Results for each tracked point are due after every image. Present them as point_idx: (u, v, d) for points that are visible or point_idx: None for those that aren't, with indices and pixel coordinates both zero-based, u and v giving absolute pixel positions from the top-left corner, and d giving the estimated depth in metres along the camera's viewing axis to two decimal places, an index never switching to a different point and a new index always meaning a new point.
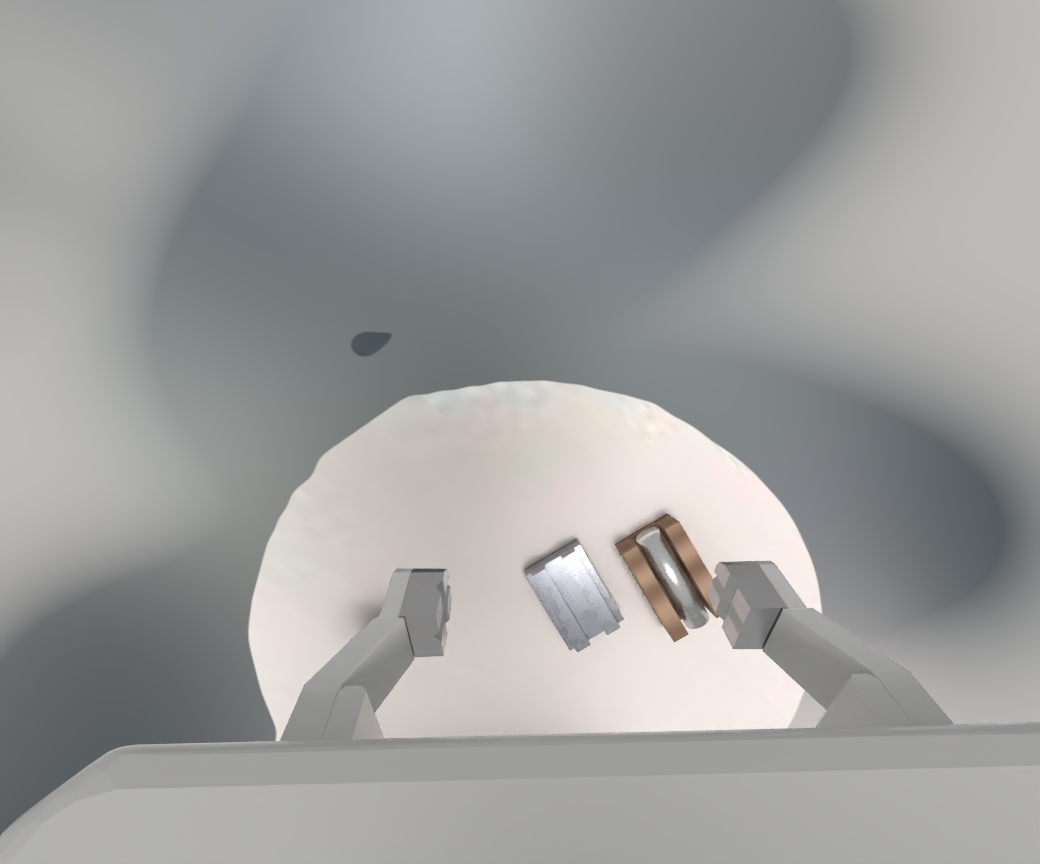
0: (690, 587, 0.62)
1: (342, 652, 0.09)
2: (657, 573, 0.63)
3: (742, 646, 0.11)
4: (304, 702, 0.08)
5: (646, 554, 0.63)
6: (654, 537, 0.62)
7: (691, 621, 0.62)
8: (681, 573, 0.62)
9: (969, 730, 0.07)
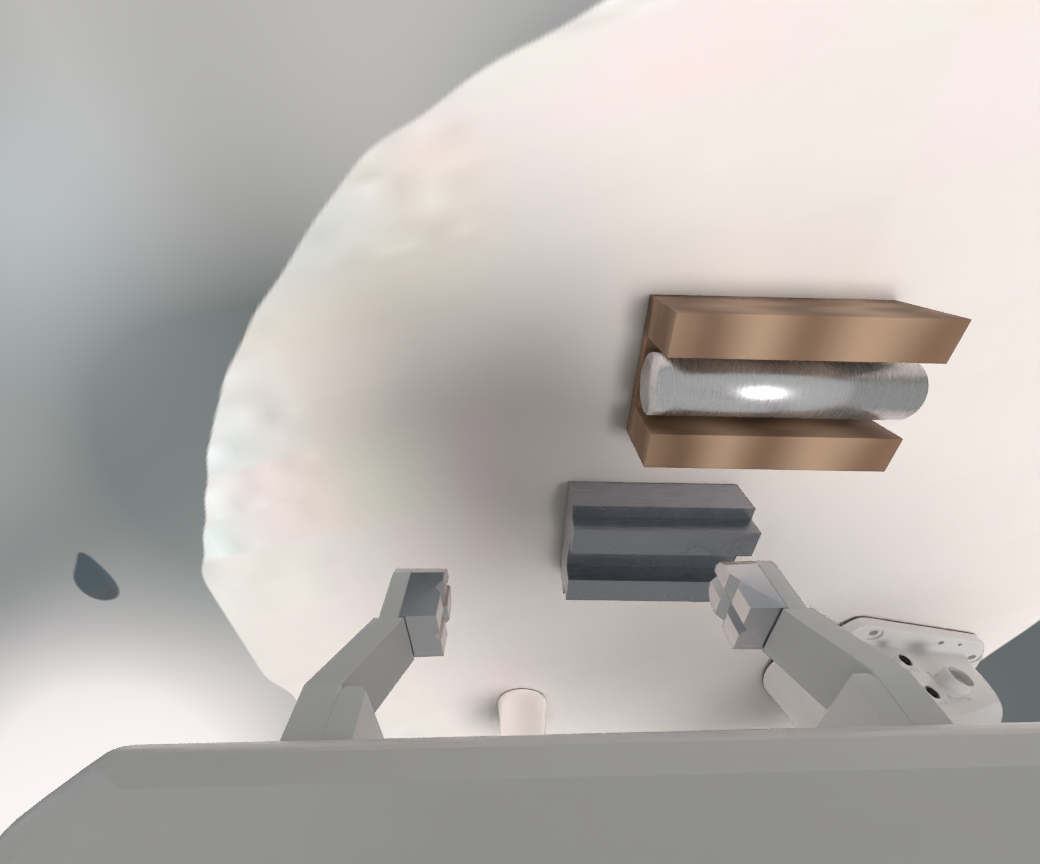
0: (830, 372, 0.24)
1: (342, 652, 0.09)
2: None
3: (742, 646, 0.11)
4: (304, 702, 0.08)
5: (685, 415, 0.26)
6: (664, 388, 0.24)
7: (889, 415, 0.25)
8: (785, 377, 0.24)
9: (969, 730, 0.07)
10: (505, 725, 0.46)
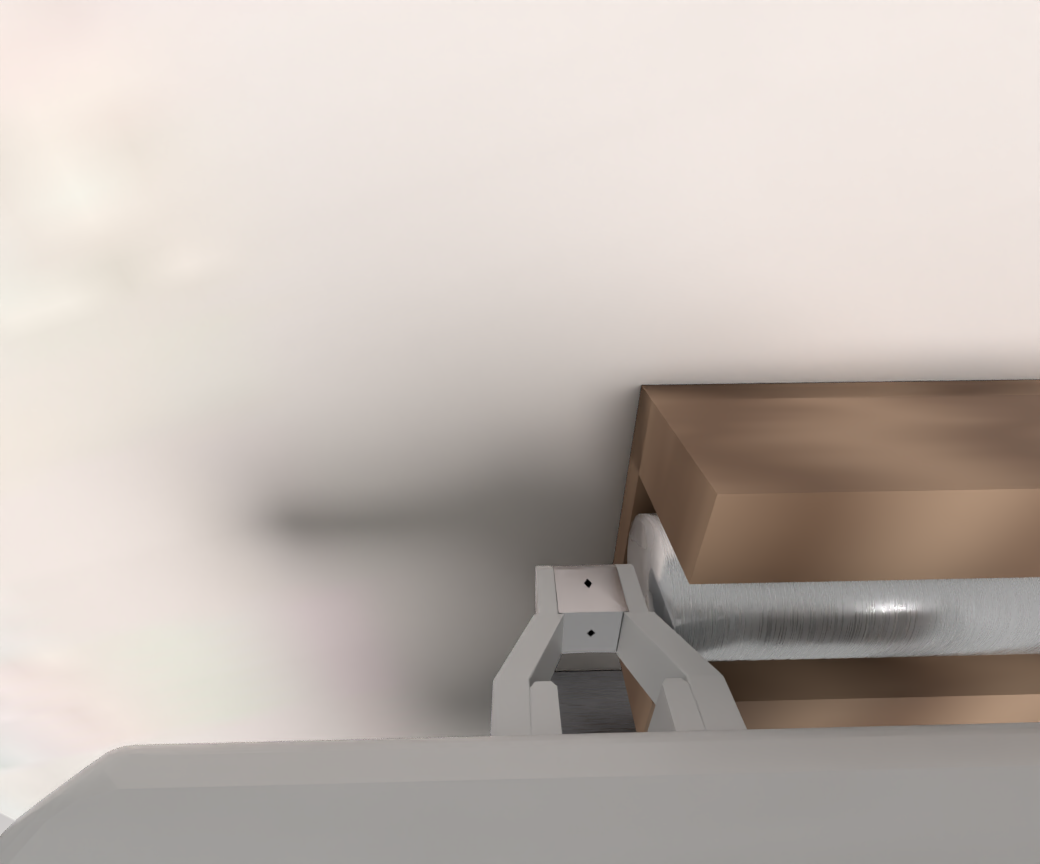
0: None
1: (514, 647, 0.09)
2: None
3: (595, 649, 0.11)
4: (499, 697, 0.08)
5: None
6: (682, 634, 0.10)
7: None
8: (975, 596, 0.10)
9: (969, 730, 0.07)
10: None
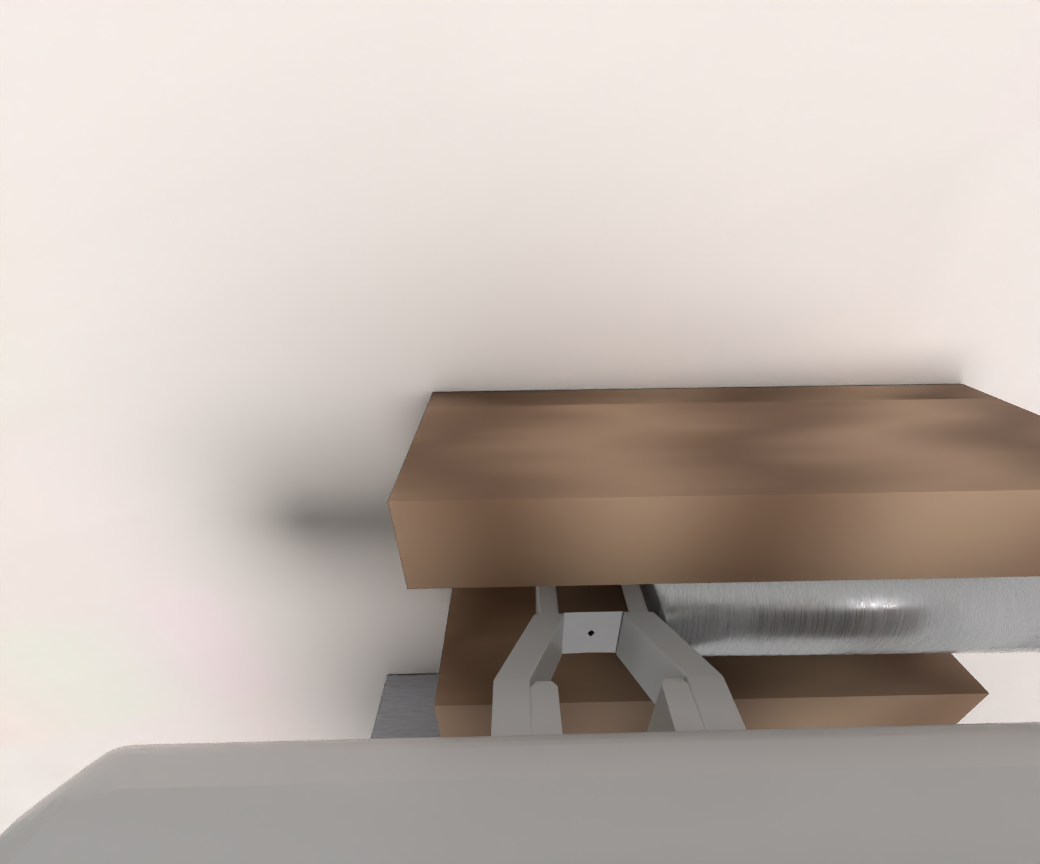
0: None
1: (515, 647, 0.09)
2: None
3: (595, 649, 0.11)
4: (500, 697, 0.08)
5: None
6: (675, 628, 0.10)
7: None
8: (963, 593, 0.10)
9: (969, 730, 0.07)
10: None
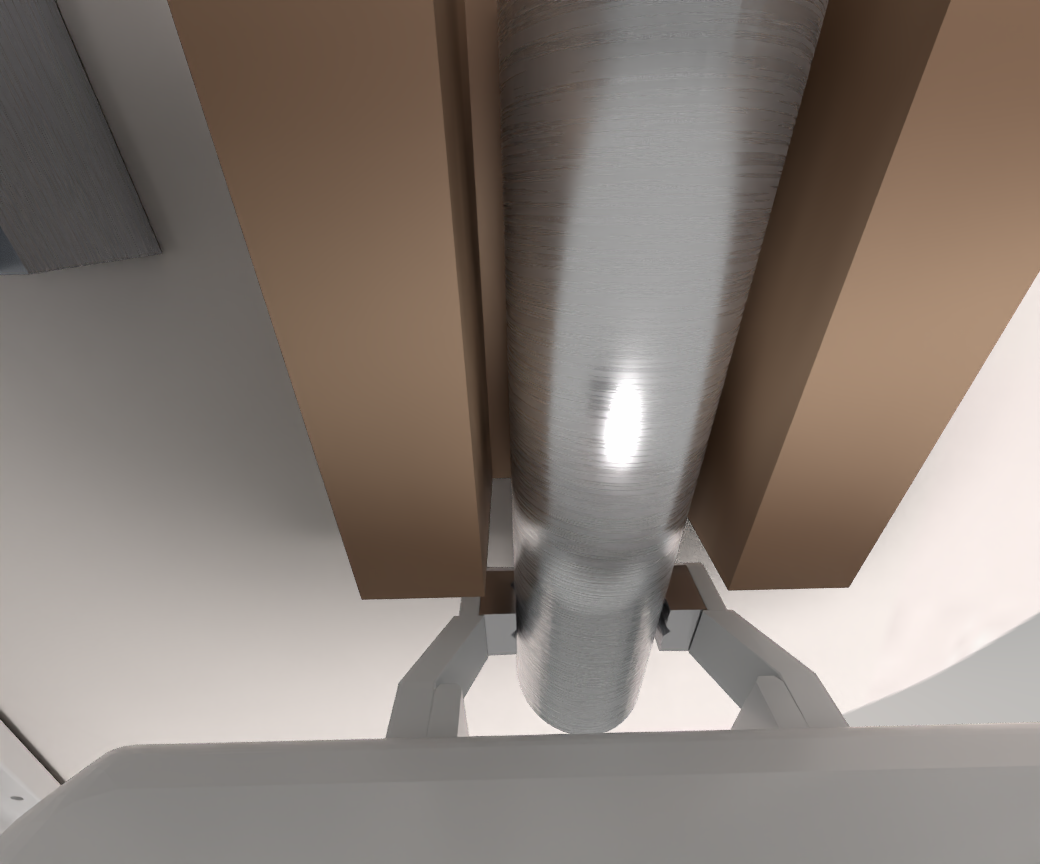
0: (668, 577, 0.09)
1: (428, 650, 0.09)
2: (520, 403, 0.07)
3: (668, 647, 0.11)
4: (402, 700, 0.08)
5: (518, 169, 0.05)
6: None
7: (551, 701, 0.11)
8: (686, 491, 0.07)
9: (969, 730, 0.07)
10: None
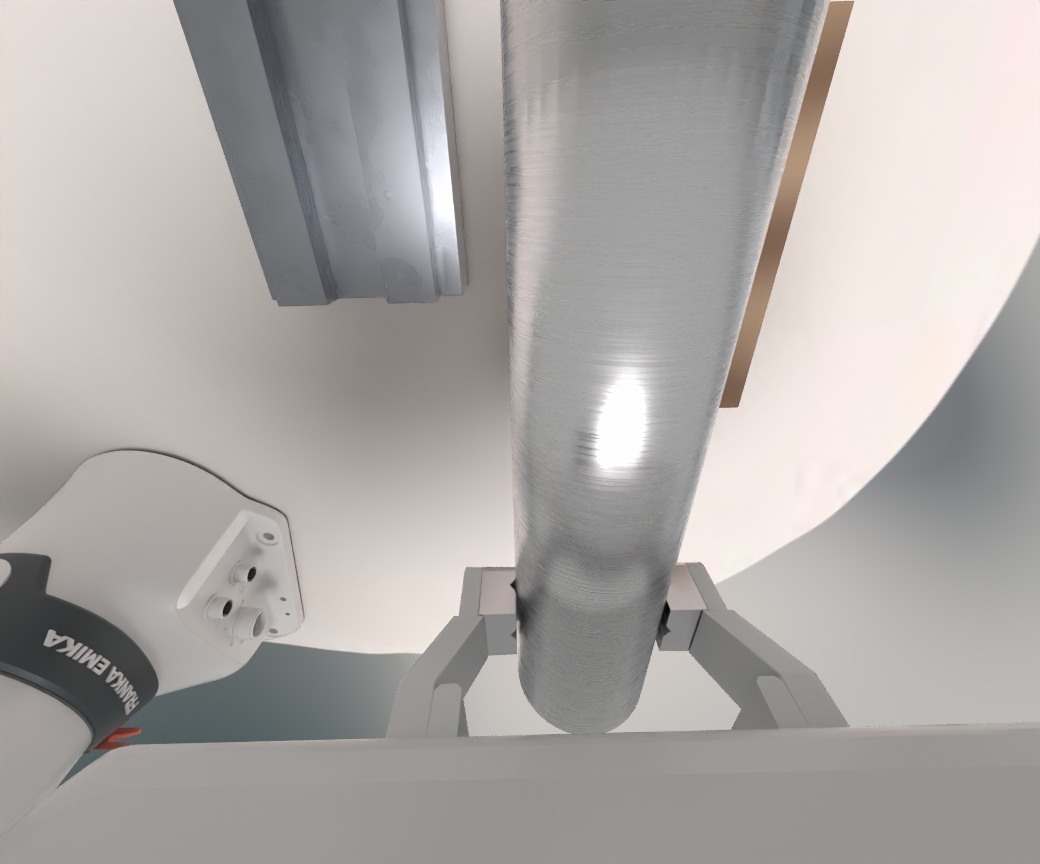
0: (670, 576, 0.09)
1: (428, 649, 0.09)
2: (522, 399, 0.07)
3: (668, 647, 0.11)
4: (402, 700, 0.08)
5: (521, 163, 0.05)
6: None
7: (552, 701, 0.11)
8: (688, 487, 0.07)
9: (969, 730, 0.07)
10: None
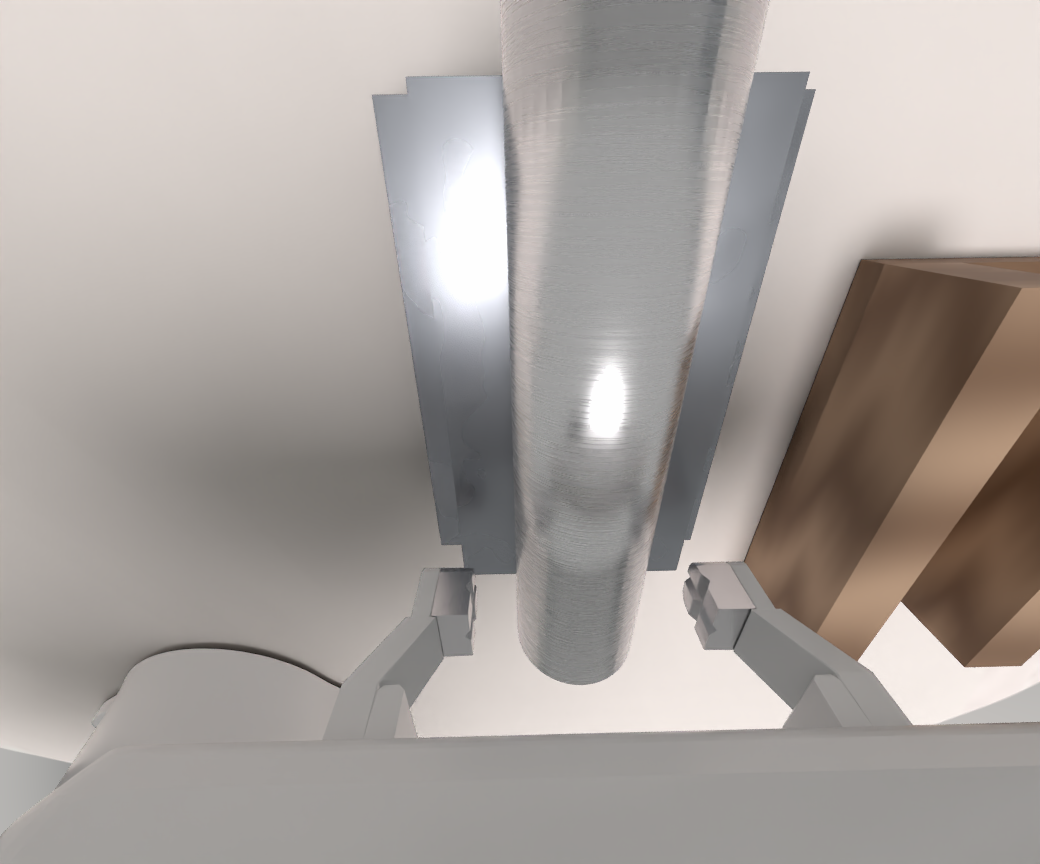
0: (654, 527, 0.10)
1: (376, 651, 0.09)
2: (526, 376, 0.08)
3: (712, 647, 0.11)
4: (343, 701, 0.08)
5: (526, 173, 0.06)
6: None
7: (555, 656, 0.12)
8: (668, 444, 0.09)
9: (969, 730, 0.07)
10: None
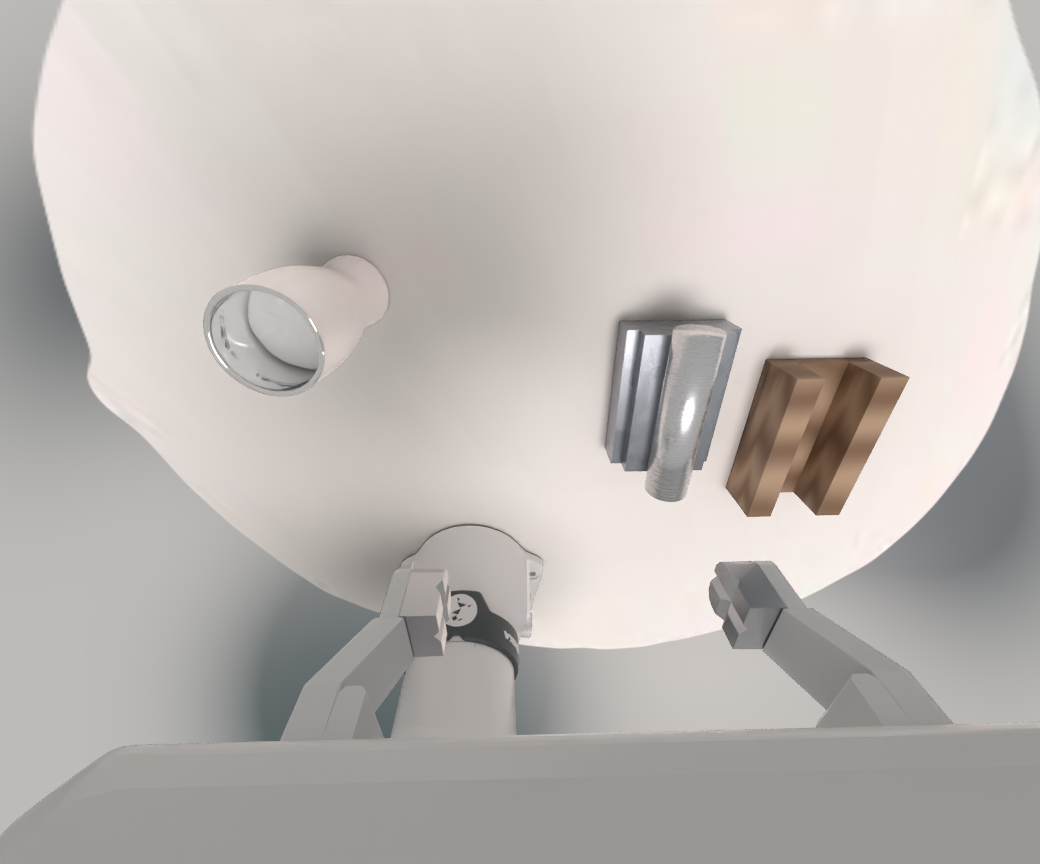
0: (698, 445, 0.36)
1: (342, 652, 0.09)
2: (670, 403, 0.34)
3: (741, 646, 0.11)
4: (304, 702, 0.08)
5: (678, 364, 0.32)
6: (718, 341, 0.31)
7: (664, 490, 0.38)
8: (704, 420, 0.35)
9: (969, 730, 0.07)
10: (356, 273, 0.32)
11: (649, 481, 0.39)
